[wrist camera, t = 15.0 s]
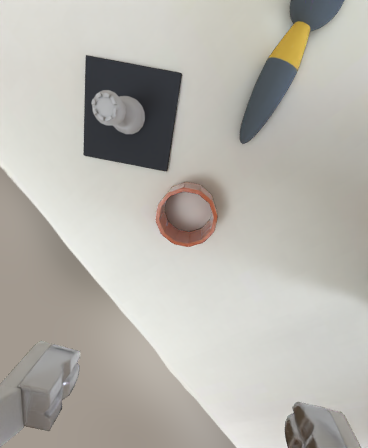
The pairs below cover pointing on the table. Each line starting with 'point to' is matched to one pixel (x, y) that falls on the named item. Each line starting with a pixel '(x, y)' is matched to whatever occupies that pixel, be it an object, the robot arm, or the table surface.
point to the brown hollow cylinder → (179, 235)
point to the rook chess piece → (118, 111)
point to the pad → (152, 105)
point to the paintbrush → (284, 62)
